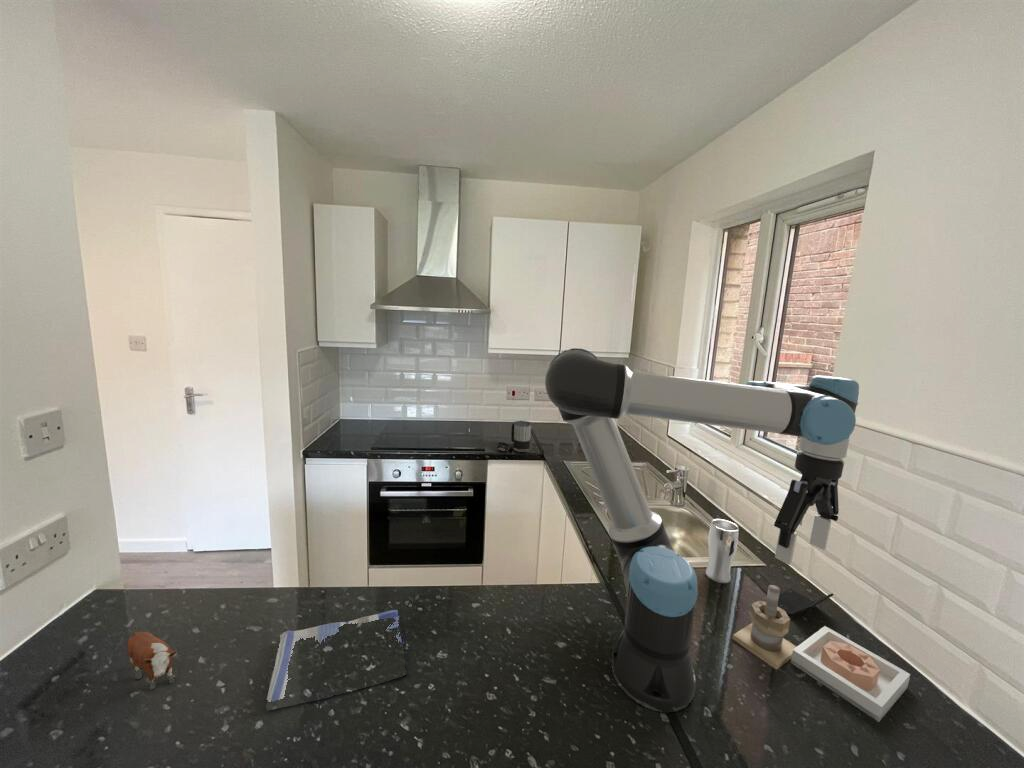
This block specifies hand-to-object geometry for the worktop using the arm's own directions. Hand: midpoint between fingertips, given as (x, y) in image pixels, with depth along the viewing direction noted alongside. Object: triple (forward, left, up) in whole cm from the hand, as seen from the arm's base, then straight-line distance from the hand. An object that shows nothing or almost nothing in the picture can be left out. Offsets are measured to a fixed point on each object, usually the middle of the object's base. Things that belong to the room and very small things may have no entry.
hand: (800, 553), depth 83 cm
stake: (-4, +2, -21) cm, 22 cm away
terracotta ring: (+3, -10, -21) cm, 23 cm away
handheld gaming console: (+16, +5, -22) cm, 28 cm away
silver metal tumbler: (+10, +22, -22) cm, 32 cm away
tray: (+3, -10, -22) cm, 24 cm away
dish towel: (-82, +41, -22) cm, 95 cm away
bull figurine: (-112, +51, -22) cm, 125 cm away
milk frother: (+15, +136, -22) cm, 139 cm away
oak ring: (-4, +2, -16) cm, 17 cm away
